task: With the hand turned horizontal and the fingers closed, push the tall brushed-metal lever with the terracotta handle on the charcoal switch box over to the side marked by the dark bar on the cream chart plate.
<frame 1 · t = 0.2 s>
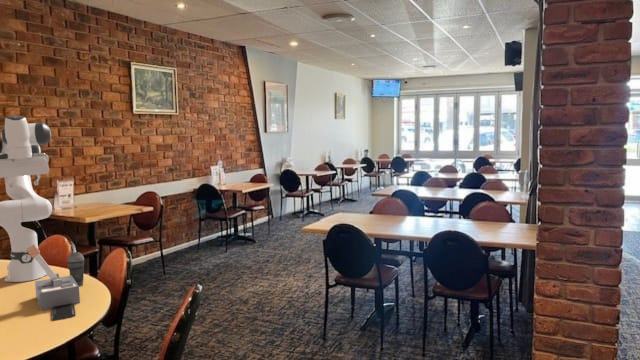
hand: (23, 186, 202), 48 cm above the table, tool pointing down, fingers open, 8 cm apart
switch box: (57, 300, 198), on the table
beverage cup: (77, 285, 218), on the table
lever: (44, 265, 195), point 16 cm above the table, hinge at -28.0°
phone: (63, 313, 184), on the table
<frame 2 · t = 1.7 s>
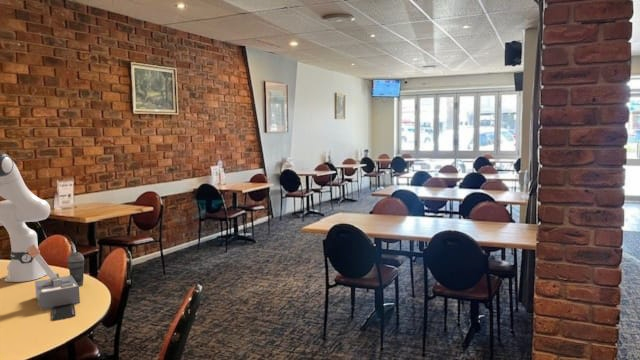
nothing on the table moved.
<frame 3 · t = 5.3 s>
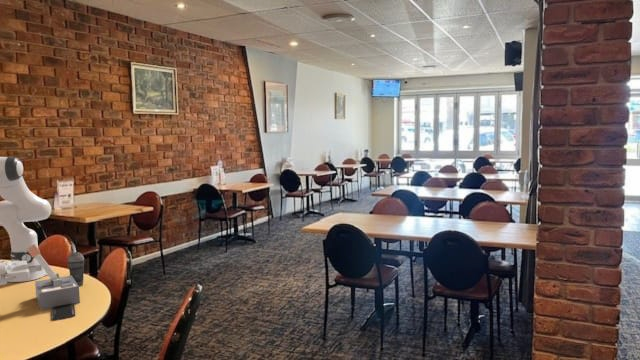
hand: (41, 267, 194), 15 cm above the table, tool horizontal, fingers closed, pressing on lever
lever: (44, 265, 195), point 16 cm above the table, hinge at -27.2°, touching gripper
everything else where it was.
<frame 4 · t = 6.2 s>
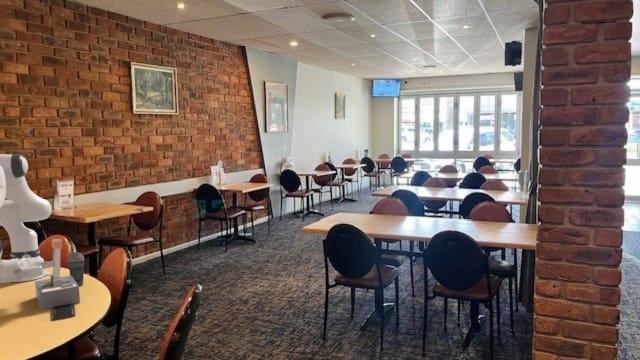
hand: (53, 263, 196), 16 cm above the table, tool horizontal, fingers closed, pressing on lever
lever: (56, 261, 197), point 16 cm above the table, hinge at 5.1°, touching gripper
everything else where it was.
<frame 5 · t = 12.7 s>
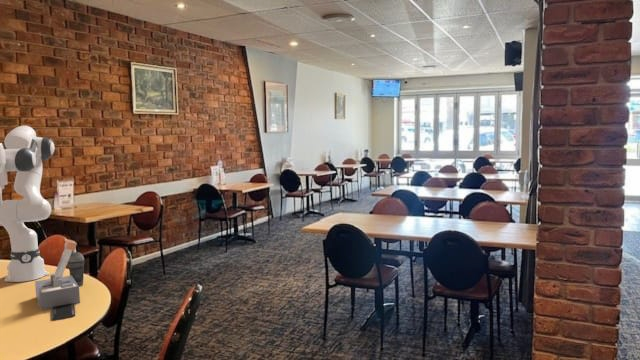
lever: (63, 261, 199), point 16 cm above the table, hinge at 24.0°
everything else where it was.
at the end: lever at +24° (first picture: -28°); beverage cup moved 0.2 cm from its start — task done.
